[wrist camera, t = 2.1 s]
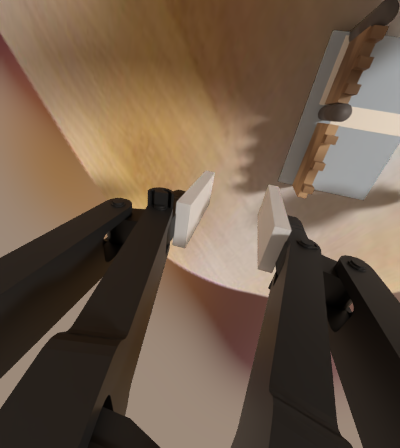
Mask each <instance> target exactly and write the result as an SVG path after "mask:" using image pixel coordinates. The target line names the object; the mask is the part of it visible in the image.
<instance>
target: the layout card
mask: <svg viewBox="0 0 400 448" xmlns="http://www.w3.org/2000/svg"><path fill="white" fill-rule="evenodd" d="M349 34H350V32H347V31H338V30H333V31H332V34H331V36H330V39H329V42H328V45H327V48H326V50H325V53H324V56H323V59H322V61H321V64H320V67H319V70H318V72H317V75H316V78H315V81H314V83H313V86H312V89H311V92H310V94H309V97H308V100H307V103H306V105H305V108H304V111H303V114H302V116H301V119H300V122H299V125H298V127H297V130H296V133H295V136H294V138H293V141H292V144H291V147H290V149H289V152H288V155H287V158H286V160H285V163H284V166H283V169H282V171H281V174H280V177H279V180H278V182H282V183H286V184H291V185H292V184H293V182H294V179H295V177H296V175H297V172H298V170H299V167H300V165H301V162H302V160H303V157H304V155H305V152H306V150H307V147H308V145H309V142H310V140H311V138H312V135H313V133H314V130H315V128H316V125H317V123H326V124H333V125H339V127H338V129H337V132H336V134H335V136H337V137H339V138H338V140H337V142H336V144H335V145H332V144H331V145H330V147H329V149H328V151H327V153H326V155H325V158H324V160H323V162H324V163H325V164H326V165H325V168H324V170H323V171H318V173H317V175H316V177H315V179H314V182H313V184H312V185H313V187H314V188H315V189H314V190H318V191H323V192H328V193H332V194H337V195H341V196H346V197H351V198H355V199H360V200H364V199H365V197H366V196H367V194H368V193H369V191H370V189H371V188H372V186H373V185H374V183H375V181H376V180H377V178H378V177H379V175H380V173H381V172H382V170H383V169H384V167H385V165H386V164H387V162H388V161H389V159H390V157H391V156H392V154H393V153H394V151H395V149H396V148H397V146H398V145H399V143H400V37H393V36H384V38H383V39H382V40H381V41H379V42H377V43H376V44H375V46H374V48H373V50H372V53H371V55H370V57H374V60H373V62H372V64H371V66H370V68H369V69H367V70H365V71H363V72H362V74H361V77H360V79H359V81H358V83H357V84H361V87H360V90H359V92H358V94H357V95H354V96H351V99H350V101H349V103H348V104H349V105H351V107H352V114H351V116H350V117H349V118H348V119H347V120H345V121H343V122H334V121H323V120H320V119H319V118H318V112H319V110H320V109H321V108H322V107H324V106H329V105H326V104H325V102H326V99H327V97H328V94H329V92H330V89H331V87H332V84H333V82H334V79H335V77H336V74H337V72H338V69H339V67H340V64H341V62H342V60H343V57H344V55H345V52H346V50H347V47H348V45H349Z"/></svg>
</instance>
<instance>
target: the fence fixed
mask: <svg viewBox="0 0 400 448" xmlns="http://www.w3.org/2000/svg"><path fill="white" fill-rule="evenodd" d="M398 10H399V2H398V0H385V1H384V2H382V3H381V4H380V5H379V6H378V7H377V8H376V9H375V10H373V11H372V12H371V13H370V14H369V15H368V16H367V17H366V18H365V19H363V20H362V21H361V22H360V23H359V24H358V25H357V26H356V27H355V28H353V29H352V30H351V31H350V34H349V45H348V47H347V50H346V52H345V55H344V57H343V60H342V62H341V64H340V67H339V69H338V72H337V74H336V77H335V79H334V82H333V84H332V87H331V89H330V92H329V94H328V97H327V99H326V102H325V104H326V105H329V106H324V107H322V108H321V109H320V110H319V112H318V118H319V119H320V120H323V121H334V122H343V121H345V120H347V119H348V118H349V117H350V116H351V114H352V107H351V105H349V104H348V103H349V101H350V99H351V96H354V95H357V94H358V92H359V90H360V87H361V84H357V83H358V81H359V79H360V77H361V74H362V72H363V71H365V70H367V69H369V68H370V66H371V64H372V62H373V60H374V57H370V55H371V53H372V50H373V48H374V46H375V44H376V43H377V42H379V41H381V40H382V39H383V38H384V36H385V34H386V32H387V30H388V27H389V26H385V25H387V24H388V23H389V22H391V21H392V20H393V19H394V18H395V16H396V15H397V13H398Z"/></svg>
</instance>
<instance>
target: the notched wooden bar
mask: <svg viewBox="0 0 400 448" xmlns="http://www.w3.org/2000/svg"><path fill="white" fill-rule="evenodd" d="M338 127H339V125H333V124H326V123H317V125H316V128H315V130H314V133H313V135H312V138H311V140H310V142H309V145H308V147H307V150H306V152H305V155H304V157H303V160H302V162H301V165H300V167H299V170H298V172H297V175H296V177H295V179H294V182H293V184H292V186H293V188H294V190H295V192H296V194H297V196H298V197H301V198H306V197H307V195H308V194H312V193H313V191H314V189H315V188H314V187H313V185H312V184H313V182H314V179H315V177H316V175H317V173H318V171H323V170H324V168H325V165H326V164H325V163H324V162H323V160H324V158H325V155H326V153H327V151H328V149H329V147H330V145H331V144H332V145H335V144H336V142H337V140H338V138H339V137H337V136H335V134H336V132H337V129H338Z"/></svg>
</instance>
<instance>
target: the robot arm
mask: <svg viewBox="0 0 400 448" xmlns="http://www.w3.org/2000/svg"><path fill="white" fill-rule="evenodd" d="M214 175H215V172H210V171H205V172H204V173H203V174H202V175H201V176H200V177H199V178H198V179H197V180H196V181H195V182H194V184H193V185H192V186H191V187H190V188H189V189H188V190H187V191H182V190H176V191H172V190H169V189H166V188H152V189H149V190H148V206H147V207H146V209H134V208H132V202H131V201H129V200H127V199H123V198H115V199H110V200H107V201H105V202H104V203H102V204H100V205H98V206H96V207H95V208H92V209H90V210H89V211H87V212H85V213H83V214H81V215H79V216H78V217H76V218H74V219H72V220H70V221H68V222H66V223H64V224H62V225H61V226H59V227H57V228H55V229H53V230H51V231H49V232H48V233H46V234H44V235H42V236H40V237H38V238H36V239H34V240H33V241H31V242H29V243H27V244H25V245H23V246H21V247H20V248H18V249H16V250H14V251H12V252H10V253H8V254H7V255H5V256H3V257H1V258H0V378H1V377H2V376H3V375H4V374H5V373H6V372H7V371H8V370H10V369H11V368H12V367H13V365H15V364H16V363H17V362H18V360H20V359H21V358H22V356H24V354H25V353H27V352H28V350H30V349H31V348H32V347H33V346H34V345H35V344H36V343H37V342H38V341H39V340H40V339H41V338H42V337H43V336H44V335H45V334H46V333H47V332H48V331H49V330H50V329H51V328H52V327H53V326H54V325H55V324H56V323H57V322H58V321H59V320H60V319H61V318H62V317H63V316H64V315H65V314H66V313H67V312H68V311H69V310H70V309H71V308H72V307H73V306H74V305H75V304H76V303H77V302H78V301H79V300H80V299H81V298H82V297H83V296H84V295H85V294H86V293H87V292H88V291H89V290H90V289H91V288H92V287H93V286H94V285H95V284H96V283H97V282H98V281H99V280H100V279H101V278H102V277H103V278H102V279H101V281H100V282H99V284H98V286H97V287H96V289H95V290H94V292H93V294H92V296H91V297H90V298H89V300H88V302H87V303H86V305H85V306H84V308H83V310H82V311H81V313H80V314H79V316H78V318H77V319H76V321H75V322H74V324H73V326H72V327H71V328H70V329H69V330H68V331H66V332H60V333H57V334H56V335H54V336H53V337H52V338H51V339H50V340H49V341H48V342H47V343H46V344H45V346H44V347H43V348H42V349H41V351H40V352H39V354H38V355H37V357H36V358H35V360H34V361H33V363H32V364H31V365H30V367H29V368H28V370H27V371H26V373H25V374H24V375H23V377H22V378H21V380H20V381H19V383H18V384H17V386H16V387H15V389H14V390H13V391H12V393H11V394H10V396H9V397H8V399H7V400H6V401H5V403H4V404H3V406H2V407H1V409H0V448H160V447H159V446H158V445H157V444H156V443H155V442H154V441H153V440H152V439H151V438H150V437H149V436H148V435H147V434H145V432H143V431H142V430H141V429H140V428H139V427H138V426H137V425H136V424H135V423H134V422H133V421H132V420H131V419H130V418H128V417H125V413H126V408H127V403H128V398H129V391H130V387H131V383H132V379H133V375H134V371H135V368H136V365H137V361H138V358H139V354H140V351H141V347H142V344H143V340H144V337H145V333H146V329H147V326H148V322H149V319H150V315H151V312H152V308H153V305H154V301H155V298H156V294H157V291H158V287H159V284H160V280H161V277H162V273H163V269H164V265H165V262H166V259H167V255H168V252H169V248H170V241H171V240H172V238H173V244H172V245H175V246H178V247H182V248H185V247H186V246H187V244H188V242H189V240H190V238H191V236H192V235H193V233H194V231H195V229H196V227H197V225H198V224H199V222H200V220H201V218H202V216H203V214H204V212H205V211H206V209H207V207H208V205H209V202H210V196H211V191H212V186H213V181H214ZM106 234H107V236H108V237H107V238H106V239H104V237H105V235H106ZM275 265H276V273H275V275H274V277H273V279H272V281H271V283H270V285H269V289H270V293H269V297H268V302H267V306H266V310H265V314H264V319H263V323H262V327H261V332H260V336H259V340H258V344H257V349H256V353H255V357H254V362H253V366H252V370H251V374H250V379H249V383H248V387H247V392H246V396H245V401H244V405H243V409H242V413H241V417H240V422H239V426H238V429H237V432H236V436H235V438H234V441H233V443H232V446H231V448H353V447H352V445H351V444H350V443H349V442H348V441H347V440H346V439H344V438H343V437H342V436H341V434H340V432H339V430H338V425H337V417H336V407H335V397H334V386H333V375H332V364H331V354H332V357H333V359H334V363H335V366H336V369H337V371H338V374H339V377H340V380H341V383H342V386H343V389H344V392H345V395H346V398H347V401H348V404H349V407H350V410H351V413H352V416H353V419H354V422H355V425H356V428H357V431H358V434H359V437H360V440H361V443H362V446H363V448H400V303H399V301H398V300H397V299H396V298H395V297H394V295H393V294H392V292H391V291H390V290H389V289H388V287H387V286H386V285H385V284H384V282H383V281H382V280H381V278H380V277H379V276H378V275H377V273H376V272H375V271H374V270H373V269H372V268H371V267H370V266H369V265H368V264H366V263H365V262H364V261H362V260H361V259H358V258H355V257H352V256H346V255H345V256H341V257H340V259H339V260H338V262H337V261H335V260H332V259H330V258H328V257H325V256H323V255H321V249H320V247H319V246H318V245H317V244H316V243H315V242H313V241H312V240H310V239H308V238H307V235H306V233H305V231H304V228H303V225H302V223H301V221H299V220H298V219H297V218H296V217H292V216H288V215H287V213H286V210H285V207H284V203H283V200H282V196H281V193H280V189H279V187H278V186H273V185H269V184H268V187H267V190H266V193H265V196H264V199H263V202H262V205H261V208H260V211H259V214H258V269H259V270H263V271H266V272H270V273H272V272H273V270H274V267H275ZM352 303H353V305H354V311H353V312H351V309H350V308H349V306H350V305H351V304H352ZM330 351H331V353H330Z"/></svg>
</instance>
